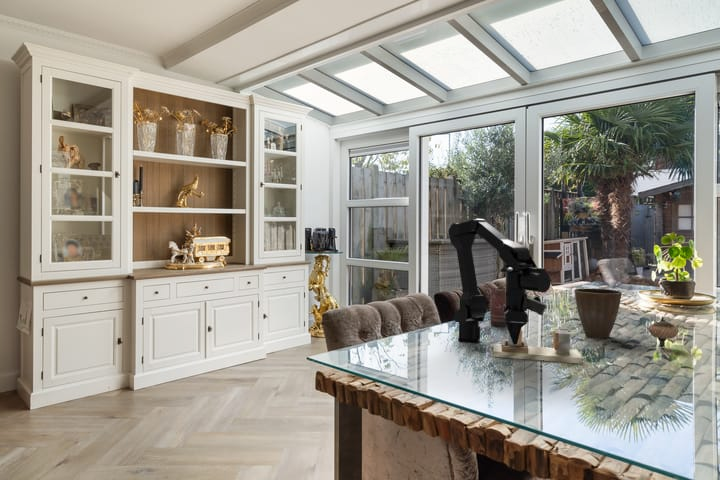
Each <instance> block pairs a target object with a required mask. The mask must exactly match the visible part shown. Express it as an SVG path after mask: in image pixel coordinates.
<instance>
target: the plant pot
mask: <svg viewBox="0 0 720 480" xmlns="http://www.w3.org/2000/svg"><path fill="white" fill-rule="evenodd" d="M573 290H574V297H575V304H576V309H577V312H578V318H579V320H580V323H581V327H582V330H583V333H584V334H585V336H586V337H588V338H593V339H607V338H609V337H610V336H611V334H612V331H613V328H614V326H615V322H616V320H617V317H618V313H619V309H620V304H621V300H622V299H621V298H622V291H621V290H613V289H607V288H606V289H605V288H576V289H573Z"/></svg>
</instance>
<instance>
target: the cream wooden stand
mask: <svg viewBox="0 0 720 480" xmlns="http://www.w3.org/2000/svg"><path fill="white" fill-rule="evenodd" d="M500 341H501V343H493V348H492V349H493V357H494V358H504V359H505V358H507V359H519V360H520V359H521V360H530V361H531V360H533V361H543V360H544V361H546V362H557V363H571V364H583V363H584V361H583V360H584V358H583V356H582V355H581V354H580V352H579V351H578V350H577V349H572V348H571V347H570V346H571V345H570V344H571V343H570V342H571V333H570V332H569V331H568V330H562V329H560V330H559V329H554V330H553V347H545V346H532V345H530V346H529V345H528V342H527V341H523V340H522V347H514V346H508V339H501V340H500Z"/></svg>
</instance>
